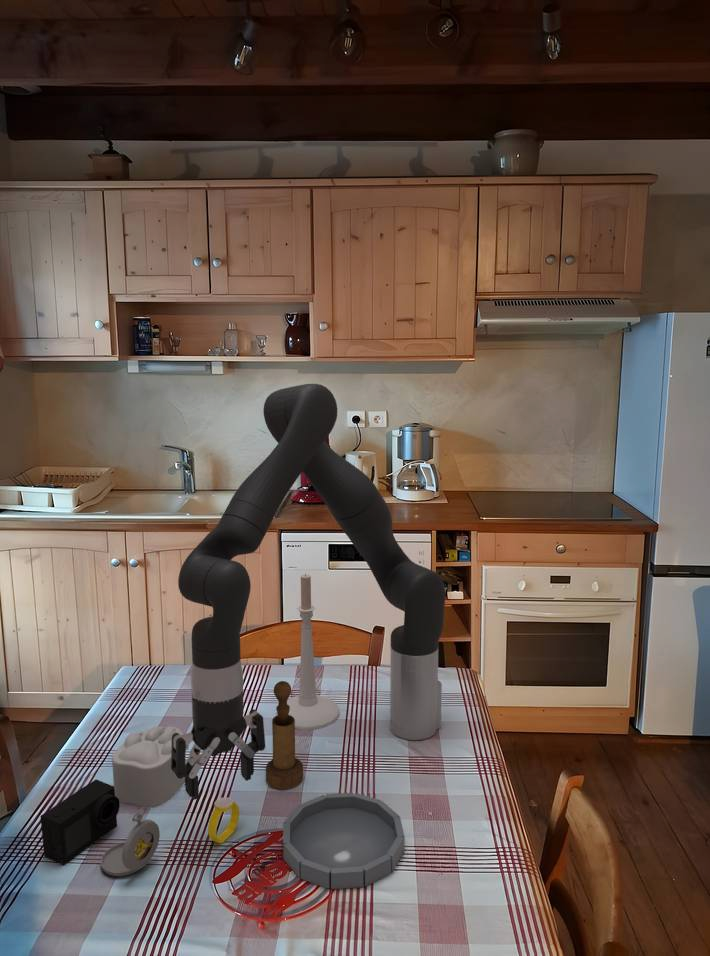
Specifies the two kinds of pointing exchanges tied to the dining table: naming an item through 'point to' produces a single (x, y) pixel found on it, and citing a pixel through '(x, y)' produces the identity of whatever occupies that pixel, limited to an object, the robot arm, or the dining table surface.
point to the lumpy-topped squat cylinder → (146, 768)
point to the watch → (220, 807)
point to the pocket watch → (132, 848)
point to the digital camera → (79, 821)
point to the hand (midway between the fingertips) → (220, 787)
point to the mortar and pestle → (283, 745)
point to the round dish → (343, 840)
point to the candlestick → (309, 675)
